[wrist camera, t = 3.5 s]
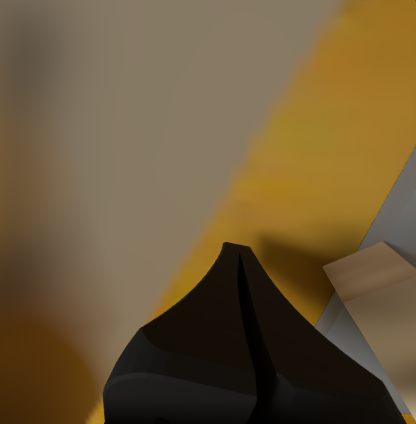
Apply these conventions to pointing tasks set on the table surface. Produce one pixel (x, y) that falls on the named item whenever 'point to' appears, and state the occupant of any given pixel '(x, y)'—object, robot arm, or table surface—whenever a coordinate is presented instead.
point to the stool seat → (403, 245)
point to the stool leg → (382, 310)
